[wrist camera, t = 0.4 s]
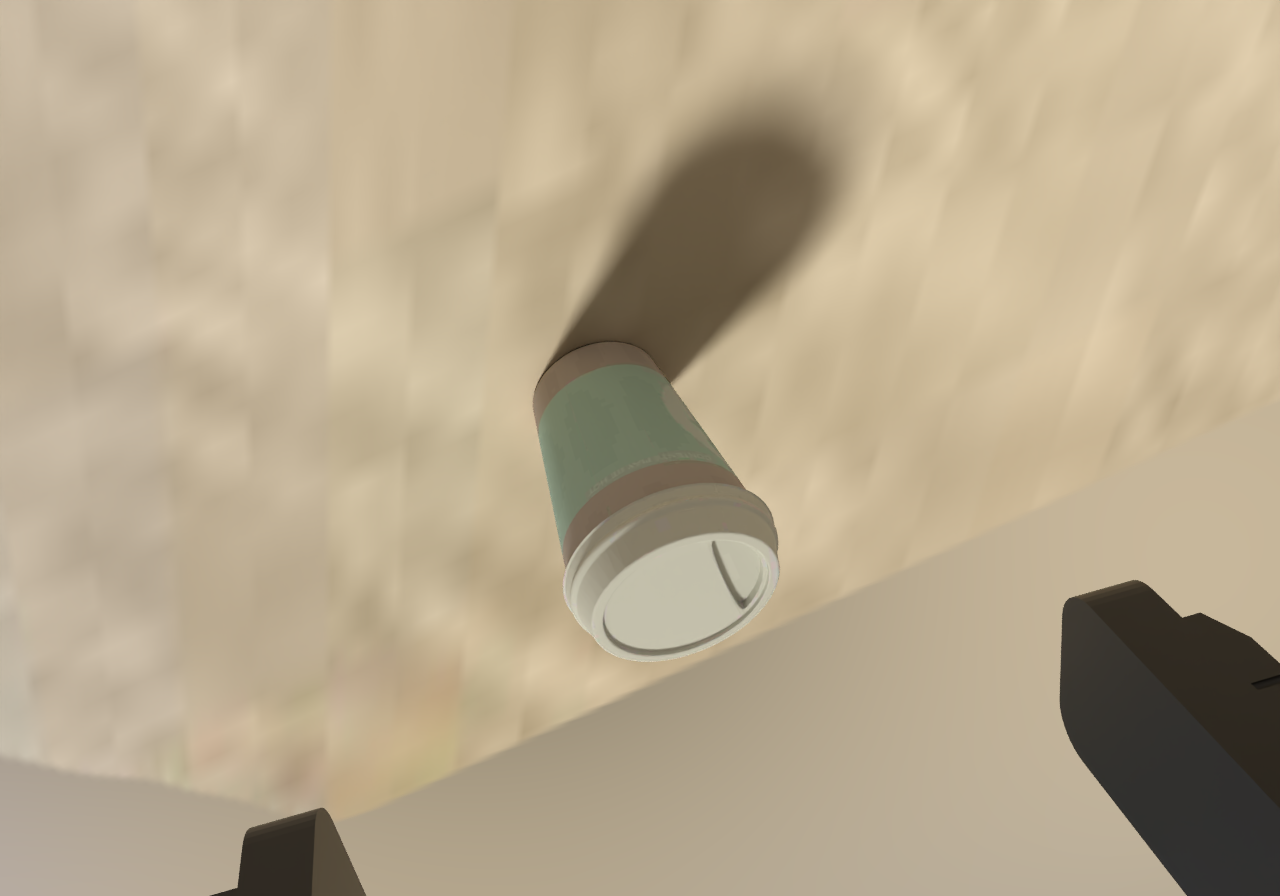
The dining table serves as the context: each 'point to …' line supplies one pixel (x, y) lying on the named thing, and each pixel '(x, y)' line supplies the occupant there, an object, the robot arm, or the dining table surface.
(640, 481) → the coffee cup
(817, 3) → the dining table surface
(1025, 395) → the dining table surface
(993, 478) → the dining table surface
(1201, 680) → the robot arm
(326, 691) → the dining table surface
